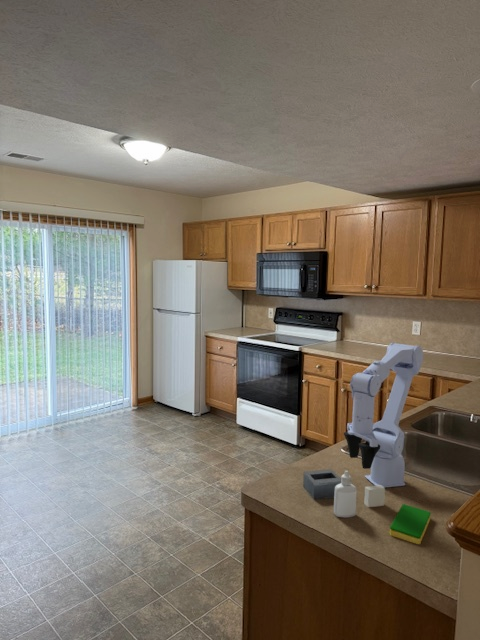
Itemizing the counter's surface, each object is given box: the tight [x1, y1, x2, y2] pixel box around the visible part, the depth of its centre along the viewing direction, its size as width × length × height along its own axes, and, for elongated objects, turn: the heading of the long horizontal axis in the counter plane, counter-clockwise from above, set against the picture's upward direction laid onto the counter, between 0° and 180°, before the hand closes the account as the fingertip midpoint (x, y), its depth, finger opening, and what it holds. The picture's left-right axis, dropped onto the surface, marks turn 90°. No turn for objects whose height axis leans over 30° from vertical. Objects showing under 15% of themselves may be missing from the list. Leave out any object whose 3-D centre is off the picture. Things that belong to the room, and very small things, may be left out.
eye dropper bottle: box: [333, 470, 358, 518], centre depth 117 cm, size 4×6×12 cm
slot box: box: [302, 468, 341, 500], centre depth 129 cm, size 9×8×5 cm
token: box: [363, 485, 386, 508], centre depth 122 cm, size 5×2×5 cm, turn 104°
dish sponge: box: [389, 503, 432, 545], centre depth 112 cm, size 7×14×2 cm, turn 147°
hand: (359, 462), depth 125 cm, fingers open, 7 cm apart
